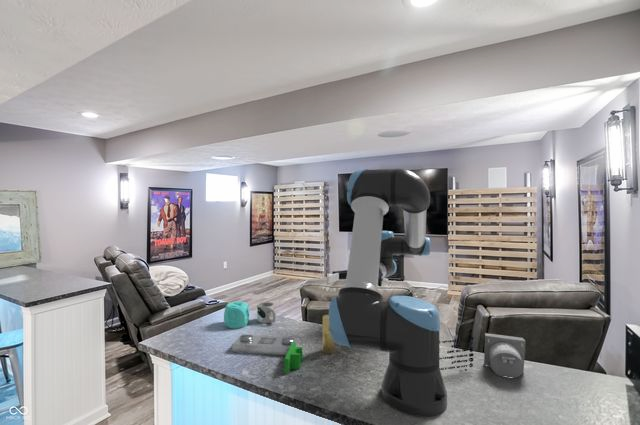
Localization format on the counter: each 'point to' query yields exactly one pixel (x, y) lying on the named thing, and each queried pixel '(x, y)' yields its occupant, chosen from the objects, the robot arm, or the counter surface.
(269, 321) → the mug
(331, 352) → the link pin
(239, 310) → the decorative dice
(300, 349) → the pipe clamp
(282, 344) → the plate with dome knobs
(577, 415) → the counter surface
